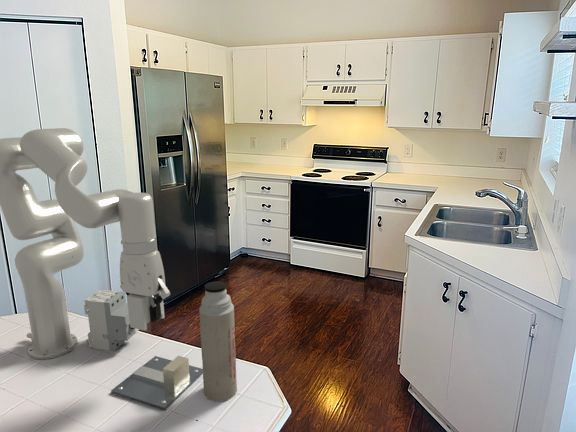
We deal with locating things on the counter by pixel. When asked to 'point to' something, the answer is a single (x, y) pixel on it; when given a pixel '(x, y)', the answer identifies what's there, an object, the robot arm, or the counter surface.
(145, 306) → the block
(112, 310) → the circuit breaker
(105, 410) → the counter surface
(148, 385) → the mounting plate
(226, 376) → the thermos bottle
